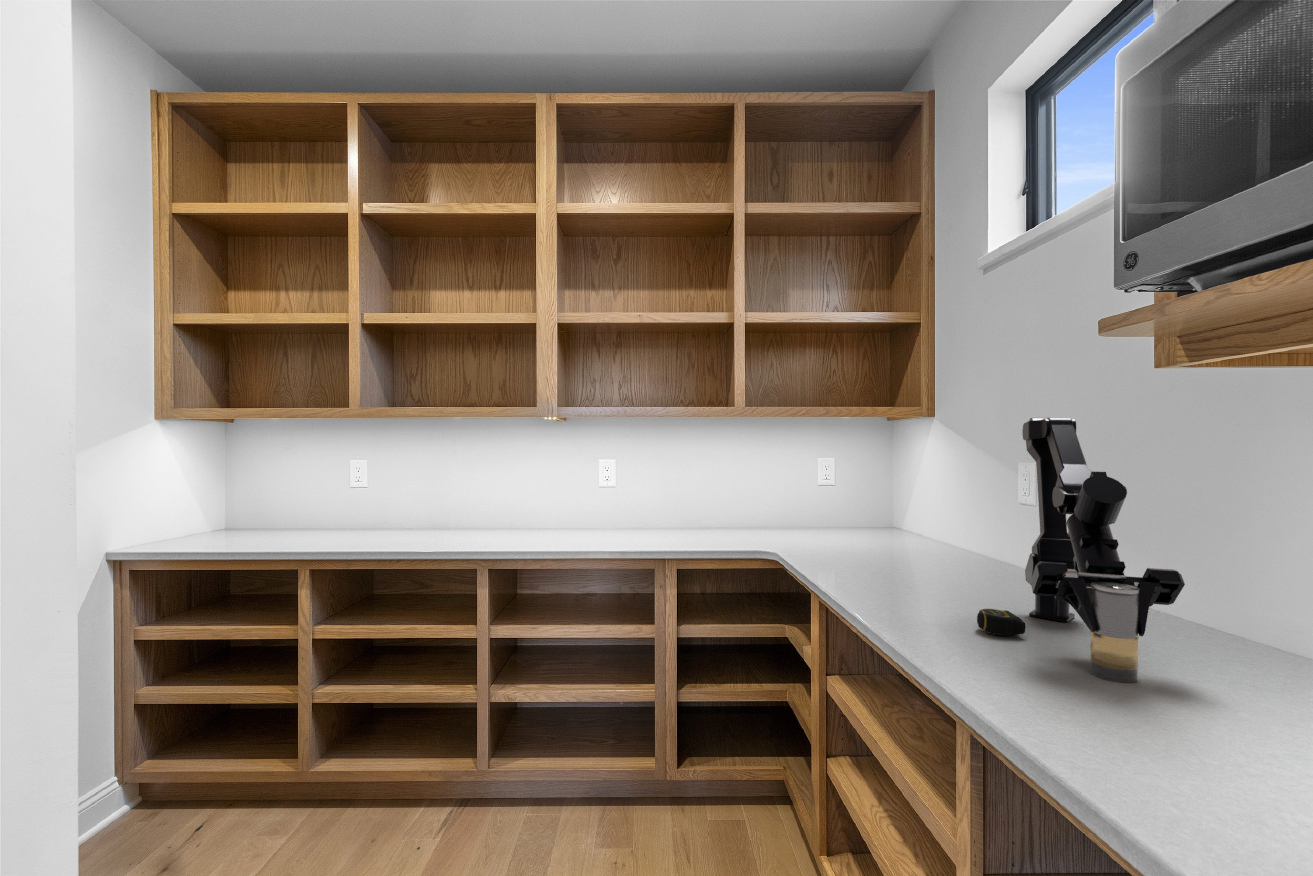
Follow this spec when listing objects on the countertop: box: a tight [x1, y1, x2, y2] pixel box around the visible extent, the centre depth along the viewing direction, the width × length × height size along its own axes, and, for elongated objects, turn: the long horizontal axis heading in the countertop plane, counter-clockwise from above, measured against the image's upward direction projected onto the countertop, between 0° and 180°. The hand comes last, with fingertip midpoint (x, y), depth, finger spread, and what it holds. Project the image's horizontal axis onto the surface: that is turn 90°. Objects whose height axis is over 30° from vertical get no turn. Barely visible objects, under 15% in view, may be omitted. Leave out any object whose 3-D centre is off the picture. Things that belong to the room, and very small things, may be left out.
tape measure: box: [976, 608, 1027, 636], centre depth 117 cm, size 7×7×4 cm
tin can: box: [1089, 582, 1139, 684], centre depth 96 cm, size 6×6×13 cm
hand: (1117, 632), depth 95 cm, fingers closed on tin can, 6 cm apart
